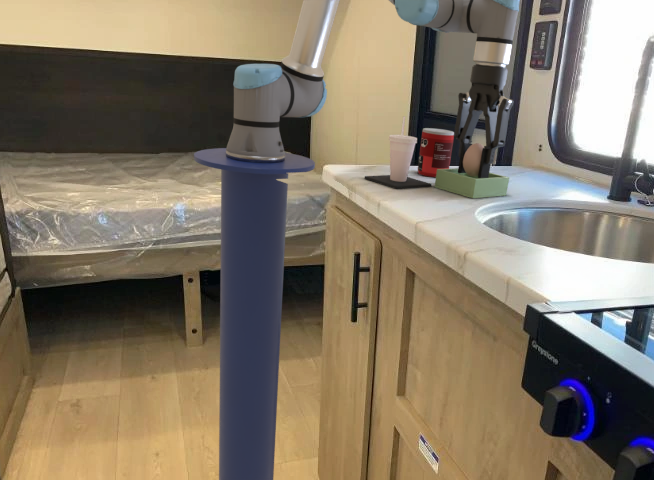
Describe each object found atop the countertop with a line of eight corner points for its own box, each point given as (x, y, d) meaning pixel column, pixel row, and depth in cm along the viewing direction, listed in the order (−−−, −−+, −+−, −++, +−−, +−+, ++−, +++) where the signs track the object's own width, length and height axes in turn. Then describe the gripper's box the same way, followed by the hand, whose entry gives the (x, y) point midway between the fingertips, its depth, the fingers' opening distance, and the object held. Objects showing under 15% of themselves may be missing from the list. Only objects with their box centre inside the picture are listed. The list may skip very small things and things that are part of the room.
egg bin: (434, 187, 137) (436, 169, 135) (467, 184, 144) (470, 167, 142) (472, 198, 129) (475, 179, 127) (506, 195, 136) (509, 177, 134)
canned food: (423, 170, 157) (428, 127, 153) (452, 175, 154) (458, 131, 150) (412, 173, 151) (418, 128, 147) (442, 179, 148) (448, 133, 144)
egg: (470, 173, 138) (475, 141, 136) (489, 178, 135) (494, 144, 132) (456, 174, 135) (461, 141, 132) (474, 179, 131) (480, 145, 129)
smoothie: (401, 176, 141) (408, 115, 136) (417, 182, 136) (425, 119, 131) (379, 177, 138) (385, 114, 133) (394, 183, 133) (402, 117, 128)
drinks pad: (364, 178, 138) (364, 176, 138) (399, 176, 145) (399, 174, 144) (396, 188, 130) (396, 186, 130) (431, 186, 137) (431, 183, 137)
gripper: (537, 69, 122) (515, 183, 131) (469, 63, 135) (454, 167, 144) (514, 67, 118) (494, 184, 126) (446, 61, 130) (432, 168, 139)
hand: (472, 175), depth 135 cm, fingers closed on egg, 5 cm apart
